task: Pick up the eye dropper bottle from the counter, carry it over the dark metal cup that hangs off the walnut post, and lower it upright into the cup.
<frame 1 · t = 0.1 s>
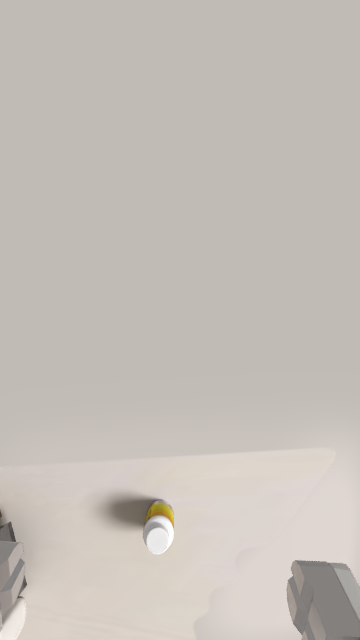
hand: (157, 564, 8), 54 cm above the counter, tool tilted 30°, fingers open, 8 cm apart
supplement bottle: (160, 514, 55), on the counter
eye dropper bottle: (17, 613, 50), on the counter
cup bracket: (2, 554, 52), on the counter
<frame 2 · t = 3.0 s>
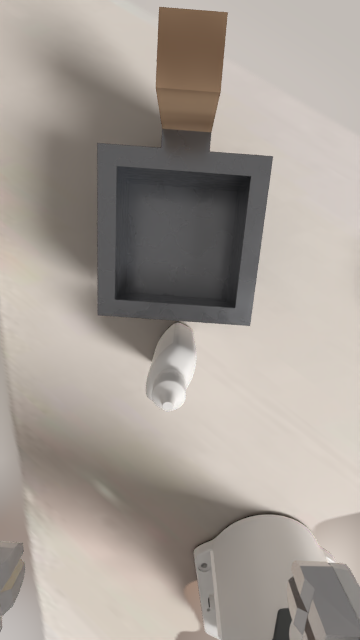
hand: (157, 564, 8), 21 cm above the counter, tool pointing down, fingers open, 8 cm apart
eye dropper bottle: (173, 345, 29), on the counter
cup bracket: (180, 246, 26), on the counter
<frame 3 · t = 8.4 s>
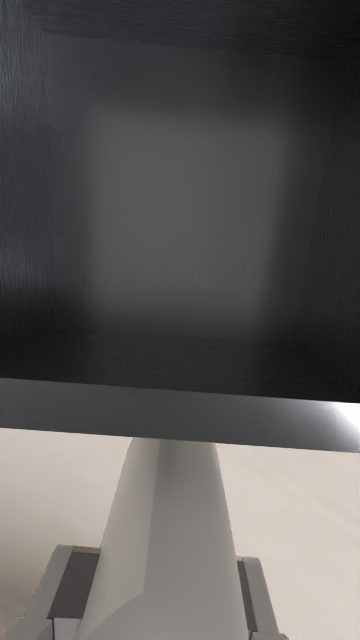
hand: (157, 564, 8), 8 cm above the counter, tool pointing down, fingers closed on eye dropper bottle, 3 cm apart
eye dropper bottle: (166, 448, 12), point 3 cm above the counter, touching gripper
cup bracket: (183, 226, 13), on the counter
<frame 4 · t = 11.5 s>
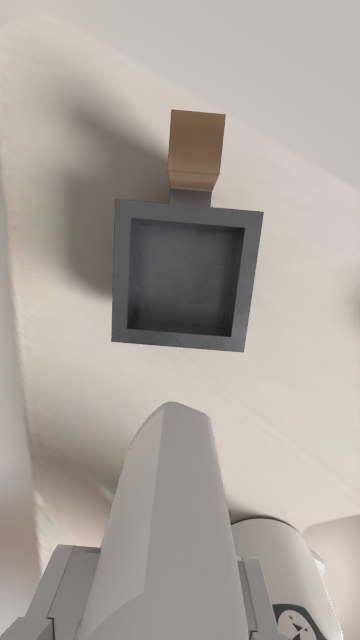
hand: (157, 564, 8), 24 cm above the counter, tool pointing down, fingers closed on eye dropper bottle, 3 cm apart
eye dropper bottle: (166, 449, 12), point 19 cm above the counter, touching gripper
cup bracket: (182, 274, 29), on the counter
when the fingers open (11 cm above the counter, at t = 15.9 s): eye dropper bottle drops 1 cm, resting on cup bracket.
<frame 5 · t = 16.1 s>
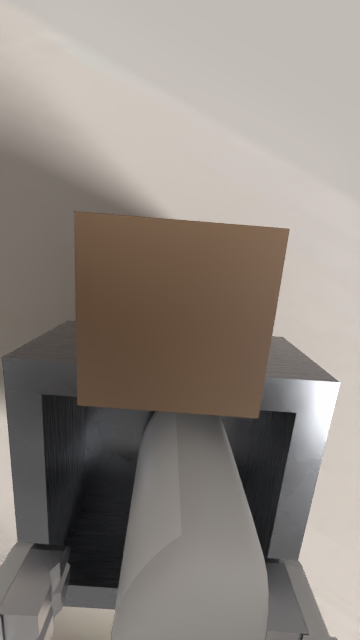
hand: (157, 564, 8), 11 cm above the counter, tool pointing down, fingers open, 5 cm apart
eye dropper bottle: (176, 433, 14), point 5 cm above the counter, touching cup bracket, gripper
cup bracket: (171, 388, 19), on the counter
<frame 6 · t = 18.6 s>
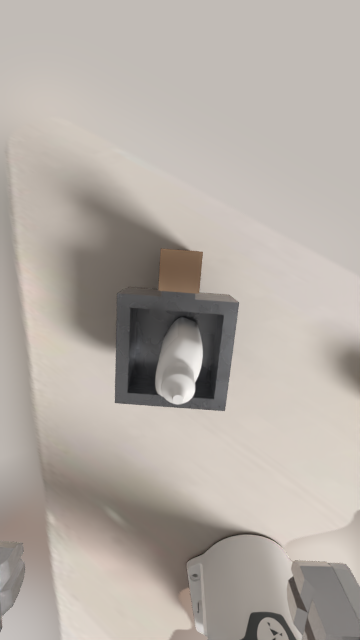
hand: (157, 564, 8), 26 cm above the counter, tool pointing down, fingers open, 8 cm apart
eye dropper bottle: (179, 341, 29), point 5 cm above the counter, touching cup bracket
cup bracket: (175, 329, 34), on the counter
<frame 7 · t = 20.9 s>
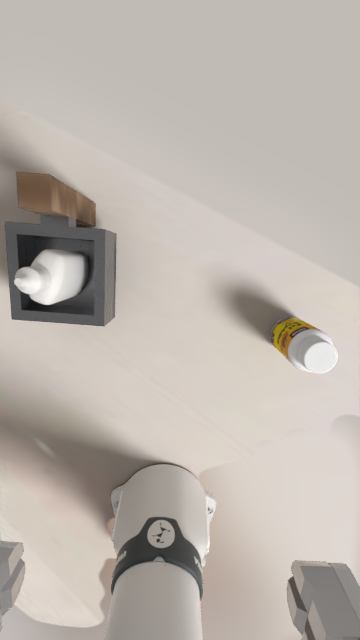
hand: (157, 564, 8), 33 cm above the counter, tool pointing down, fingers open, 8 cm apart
supplement bottle: (286, 333, 41), on the counter
eye dropper bottle: (75, 273, 34), point 5 cm above the counter, touching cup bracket
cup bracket: (85, 272, 39), on the counter
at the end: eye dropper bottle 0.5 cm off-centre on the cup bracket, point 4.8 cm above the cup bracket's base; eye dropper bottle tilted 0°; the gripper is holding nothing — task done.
